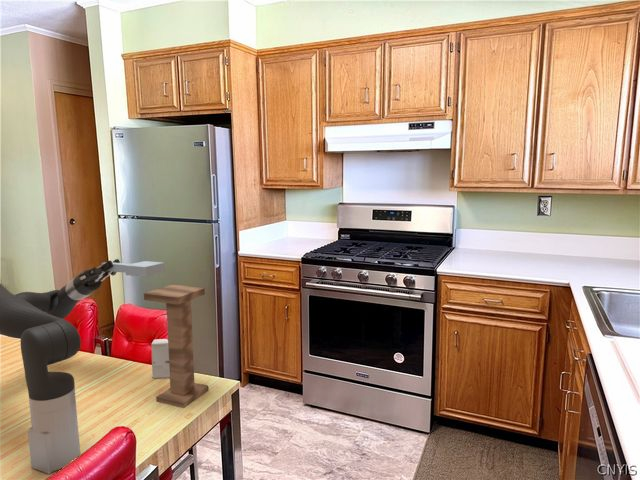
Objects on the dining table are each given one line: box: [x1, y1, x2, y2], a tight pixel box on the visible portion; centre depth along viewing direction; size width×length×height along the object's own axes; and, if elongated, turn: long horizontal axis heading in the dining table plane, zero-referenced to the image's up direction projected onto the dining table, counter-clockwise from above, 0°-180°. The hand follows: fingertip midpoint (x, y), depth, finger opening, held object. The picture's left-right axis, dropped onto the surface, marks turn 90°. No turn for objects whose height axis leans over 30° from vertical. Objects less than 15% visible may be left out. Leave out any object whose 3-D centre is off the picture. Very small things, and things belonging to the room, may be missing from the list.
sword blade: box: [101, 260, 166, 278], centre depth 141 cm, size 8×21×3 cm, turn 67°
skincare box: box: [151, 338, 170, 379], centre depth 152 cm, size 6×4×12 cm
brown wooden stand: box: [143, 283, 209, 409], centre depth 136 cm, size 12×12×33 cm
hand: (114, 262), depth 143 cm, fingers closed on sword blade, 2 cm apart
